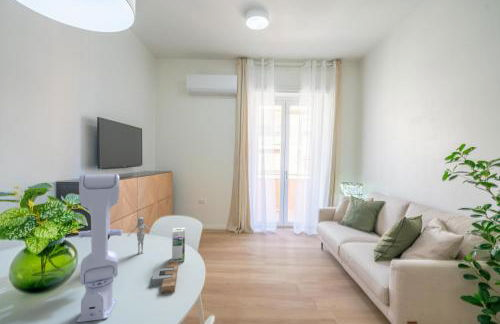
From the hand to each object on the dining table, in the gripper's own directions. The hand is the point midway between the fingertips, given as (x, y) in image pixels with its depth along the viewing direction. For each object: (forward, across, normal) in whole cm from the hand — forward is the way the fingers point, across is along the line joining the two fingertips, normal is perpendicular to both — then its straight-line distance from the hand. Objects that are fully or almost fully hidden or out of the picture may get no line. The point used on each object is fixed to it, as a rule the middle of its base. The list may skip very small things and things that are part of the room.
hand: (100, 254), depth 89 cm
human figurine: (+11, -9, -25) cm, 29 cm away
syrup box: (+11, -28, -14) cm, 33 cm away
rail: (+10, -27, +3) cm, 29 cm away
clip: (+10, -23, +3) cm, 26 cm away
